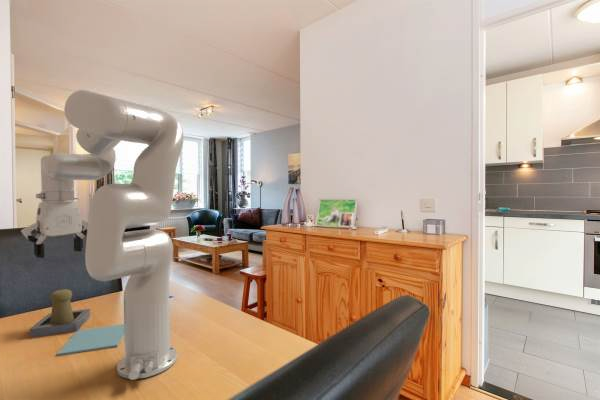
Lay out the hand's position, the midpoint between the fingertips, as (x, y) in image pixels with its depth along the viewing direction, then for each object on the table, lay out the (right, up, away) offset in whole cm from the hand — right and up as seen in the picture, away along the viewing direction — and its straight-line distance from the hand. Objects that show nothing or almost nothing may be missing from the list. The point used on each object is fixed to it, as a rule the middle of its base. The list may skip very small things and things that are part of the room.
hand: (59, 254), depth 89 cm
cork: (0, -22, +1) cm, 22 cm away
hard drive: (+17, -22, +22) cm, 36 cm away
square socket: (0, -22, +1) cm, 22 cm away
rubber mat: (+16, -22, -7) cm, 28 cm away
